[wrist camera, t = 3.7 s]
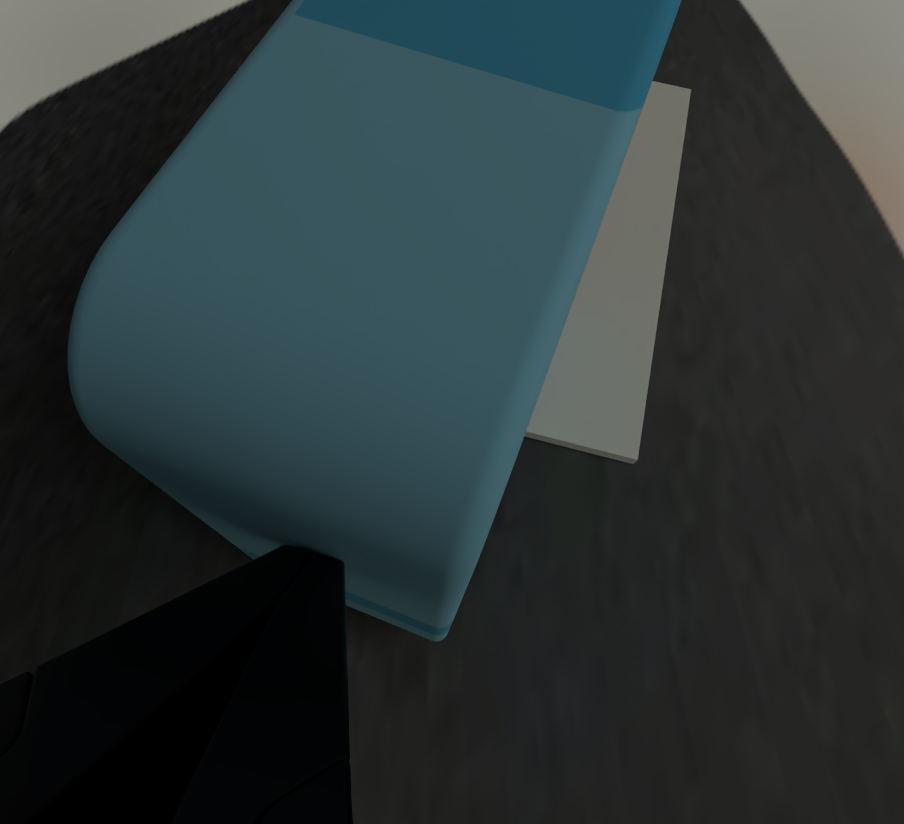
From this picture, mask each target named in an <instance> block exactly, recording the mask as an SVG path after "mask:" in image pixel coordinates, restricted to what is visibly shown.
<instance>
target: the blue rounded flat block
mask: <svg viewBox="0 0 904 824" xmlns="http://www.w3.org/2000/svg"><path fill="white" fill-rule="evenodd" d="M680 3H681V0H292V1H291V3H290V4H289V5H288V6H287V8H286V9H285V10H284V12H283V13H282V14H281V15H280V17H279V18H278V19H277V20H276V22H275V23H274V24H273V26H272V27H271V28H270V29H269V31H268V32H267V33H266V35H265V36H264V37H263V38H262V40H261V41H260V42H259V43H258V45H257V46H256V47H255V49H254V50H253V51H252V52H251V54H250V55H249V56H248V58H247V59H246V60H245V61H244V63H243V64H242V65H241V66H240V68H239V69H238V70H237V72H236V73H235V74H234V75H233V77H232V78H231V79H230V81H229V82H228V83H227V84H226V86H225V87H224V88H223V89H222V91H221V92H220V93H219V95H218V96H217V97H216V98H215V100H214V101H213V102H212V104H211V105H210V106H209V107H208V109H207V110H206V111H205V113H204V114H203V115H202V116H201V118H200V119H199V120H198V121H197V123H196V124H195V125H194V127H193V128H192V129H191V130H190V132H189V133H188V134H187V136H186V137H185V138H184V139H183V141H182V142H181V143H180V144H179V146H178V147H177V148H176V150H175V151H174V152H173V153H172V155H171V156H170V157H169V159H168V160H167V161H166V162H165V164H164V165H163V166H162V167H161V169H160V170H159V171H158V173H157V174H156V175H155V176H154V178H153V179H152V180H151V182H150V183H149V184H148V185H147V187H146V188H145V189H144V190H143V192H142V193H141V194H140V196H139V197H138V198H137V199H136V201H135V202H134V203H133V205H132V206H131V207H130V208H129V210H128V211H127V212H126V213H125V215H124V216H123V217H122V219H121V220H120V221H119V222H118V224H117V225H116V226H115V228H114V229H113V230H112V231H111V233H110V234H109V236H108V237H107V239H106V240H105V241H104V243H103V244H102V246H101V247H100V249H99V251H98V252H97V254H96V256H95V258H94V260H93V261H92V263H91V265H90V267H89V269H88V272H87V274H86V276H85V278H84V281H83V283H82V285H81V288H80V291H79V294H78V297H77V301H76V304H75V307H74V311H73V316H72V321H71V325H70V332H69V341H68V375H69V384H70V389H71V393H72V397H73V400H74V404H75V406H76V409H77V411H78V413H79V416H80V418H81V420H82V421H83V423H84V424H85V426H86V427H87V429H88V430H89V432H90V433H91V434H92V435H93V436H94V437H95V438H96V439H97V440H98V441H99V442H100V443H101V444H102V445H104V446H105V447H106V448H107V449H109V450H110V451H111V452H113V453H114V454H115V455H117V456H118V457H119V458H121V459H122V460H123V461H125V462H126V463H127V464H129V465H130V466H131V467H132V468H134V469H135V470H136V471H138V472H139V473H140V474H142V475H143V476H144V477H146V478H147V479H148V480H150V481H151V482H152V483H154V484H155V485H156V486H157V487H159V488H160V489H161V490H163V491H164V492H165V493H167V494H168V495H169V496H171V497H172V498H173V499H175V500H176V501H177V502H178V503H180V504H181V505H182V506H184V507H185V508H186V509H188V510H189V511H190V512H192V513H193V514H194V515H196V516H197V517H198V518H200V519H201V520H202V521H203V522H205V523H206V524H207V525H209V526H210V527H211V528H213V529H214V530H215V531H217V532H218V533H219V534H221V535H222V536H223V537H225V538H226V539H227V540H228V541H230V542H231V543H232V544H234V545H235V546H236V547H238V548H239V549H240V550H242V551H243V552H244V553H246V554H247V555H248V556H250V557H251V558H252V559H253V560H254V559H256V558H258V557H260V556H262V555H264V554H266V553H268V552H270V551H272V550H274V549H276V548H278V547H280V546H283V545H291V546H295V547H299V548H303V549H306V550H310V551H312V552H313V554H316V553H321V554H325V555H327V556H330V557H333V558H336V559H338V560H341V561H343V562H344V565H345V601H346V605H347V606H349V607H351V608H354V609H356V610H359V611H361V612H364V613H366V614H368V615H371V616H373V617H376V618H378V619H381V620H383V621H385V622H388V623H390V624H393V625H395V626H398V627H400V628H403V629H405V630H407V631H410V632H412V633H415V634H417V635H420V636H422V637H424V638H427V639H429V640H432V641H440V640H442V639H444V638H445V637H446V635H447V634H448V631H449V629H450V626H451V624H452V622H453V619H454V617H455V614H456V612H457V610H458V607H459V605H460V602H461V600H462V598H463V595H464V593H465V590H466V588H467V586H468V583H469V581H470V578H471V576H472V574H473V571H474V569H475V566H476V564H477V562H478V559H479V556H480V554H481V551H482V549H483V546H484V543H485V541H486V538H487V535H488V533H489V530H490V528H491V525H492V522H493V520H494V517H495V514H496V511H497V509H498V506H499V503H500V501H501V498H502V495H503V493H504V490H505V487H506V484H507V482H508V479H509V476H510V474H511V471H512V468H513V465H514V463H515V460H516V457H517V455H518V452H519V449H520V446H521V444H522V441H523V438H524V435H525V433H526V430H527V427H528V424H529V422H530V419H531V416H532V413H533V411H534V408H535V405H536V402H537V400H538V397H539V394H540V391H541V389H542V386H543V383H544V380H545V377H546V375H547V372H548V369H549V366H550V364H551V361H552V358H553V355H554V352H555V350H556V347H557V344H558V341H559V339H560V336H561V333H562V330H563V328H564V325H565V322H566V319H567V316H568V314H569V311H570V308H571V305H572V303H573V300H574V297H575V294H576V291H577V289H578V286H579V283H580V280H581V278H582V275H583V272H584V269H585V266H586V264H587V261H588V258H589V255H590V253H591V250H592V247H593V244H594V242H595V239H596V236H597V233H598V230H599V228H600V225H601V222H602V219H603V217H604V214H605V211H606V208H607V205H608V203H609V200H610V197H611V194H612V192H613V189H614V186H615V183H616V180H617V178H618V175H619V172H620V169H621V167H622V164H623V161H624V158H625V156H626V153H627V150H628V147H629V144H630V142H631V139H632V136H633V133H634V131H635V128H636V125H637V122H638V119H639V117H640V114H641V111H642V108H643V106H644V103H645V100H646V97H647V95H648V92H649V89H650V86H651V83H652V81H653V78H654V75H655V72H656V70H657V67H658V64H659V61H660V58H661V56H662V53H663V50H664V47H665V45H666V42H667V39H668V36H669V33H670V31H671V28H672V25H673V22H674V20H675V17H676V14H677V11H678V9H679V6H680Z"/></svg>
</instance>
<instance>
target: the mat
mask: <svg viewBox="0 0 904 824" xmlns="http://www.w3.org/2000/svg"><path fill="white" fill-rule="evenodd" d="M690 93H691V89H686V88H682V87H677V86H672V85H668V84H663V83H659V82H654V81H652V83H651V86H650V89H649V92H648V95H647V97H646V100H645V103H644V106H643V108H642V111H641V114H640V117H639V119H638V122H637V125H636V128H635V131H634V133H633V136H632V139H631V142H630V144H629V147H628V150H627V153H626V156H625V158H624V161H623V164H622V167H621V169H620V172H619V175H618V178H617V180H616V183H615V186H614V189H613V192H612V194H611V197H610V200H609V203H608V205H607V208H606V211H605V214H604V217H603V219H602V222H601V225H600V228H599V230H598V233H597V236H596V239H595V242H594V244H593V247H592V250H591V253H590V255H589V258H588V261H587V264H586V266H585V269H584V272H583V275H582V278H581V280H580V283H579V286H578V289H577V291H576V294H575V297H574V300H573V303H572V305H571V308H570V311H569V314H568V316H567V319H566V322H565V325H564V328H563V330H562V333H561V336H560V339H559V341H558V344H557V347H556V350H555V352H554V355H553V358H552V361H551V364H550V366H549V369H548V372H547V375H546V377H545V380H544V383H543V386H542V389H541V391H540V394H539V397H538V400H537V402H536V405H535V408H534V411H533V413H532V416H531V419H530V422H529V424H528V427H527V430H526V433H525V435H524V436H525V437H529V438H533V439H537V440H541V441H544V442H548V443H552V444H556V445H560V446H564V447H568V448H572V449H576V450H580V451H584V452H587V453H591V454H595V455H599V456H603V457H607V458H611V459H615V460H619V461H623V462H627V463H630V464H634V463H635V462H636V461H637V460H638V453H639V446H640V439H641V432H642V425H643V418H644V411H645V404H646V397H647V391H648V384H649V377H650V370H651V363H652V356H653V349H654V342H655V335H656V328H657V321H658V315H659V308H660V301H661V294H662V287H663V280H664V273H665V266H666V259H667V252H668V245H669V238H670V232H671V225H672V218H673V211H674V204H675V197H676V190H677V183H678V176H679V169H680V162H681V155H682V149H683V142H684V135H685V128H686V121H687V114H688V107H689V100H690Z"/></svg>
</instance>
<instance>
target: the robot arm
mask: <svg viewBox="0 0 904 824" xmlns="http://www.w3.org/2000/svg"><path fill="white" fill-rule="evenodd" d="M349 759H350V748H349V711H348V674H347V638H346V601H345V565H344V562H343V561H341V560H338V559H336V558H333V557H330V556H327V555H325V554H321V553H316V554H313V552H312V551H310V550H306V549H303V548H299V547H295V546H291V545H283V546H280V547H278V548H276V549H274V550H272V551H270V552H268V553H266V554H264V555H262V556H260V557H258V558H256V559H254V560H252V561H250V562H248V563H246V564H244V565H242V566H240V567H238V568H236V569H234V570H232V571H230V572H228V573H226V574H224V575H222V576H220V577H218V578H216V579H214V580H212V581H210V582H207V583H205V584H203V585H201V586H199V587H197V588H195V589H193V590H191V591H189V592H187V593H185V594H183V595H181V596H179V597H177V598H175V599H173V600H171V601H169V602H167V603H165V604H163V605H161V606H159V607H157V608H155V609H153V610H151V611H149V612H147V613H145V614H143V615H141V616H139V617H137V618H135V619H133V620H131V621H129V622H127V623H125V624H123V625H121V626H119V627H117V628H115V629H113V630H111V631H109V632H107V633H105V634H103V635H100V636H98V637H96V638H94V639H92V640H90V641H88V642H86V643H84V644H82V645H80V646H78V647H76V648H74V649H72V650H70V651H68V652H66V653H64V654H62V655H60V656H58V657H56V658H54V659H52V660H50V661H48V662H46V663H44V664H42V665H40V666H38V667H36V668H35V669H34V671H33V675H32V674H31V673H30V672H25V673H23V674H21V675H19V676H17V677H15V678H13V679H11V680H9V681H7V682H5V683H3V684H1V685H0V824H353V818H352V802H351V772H350V763H349Z"/></svg>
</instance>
